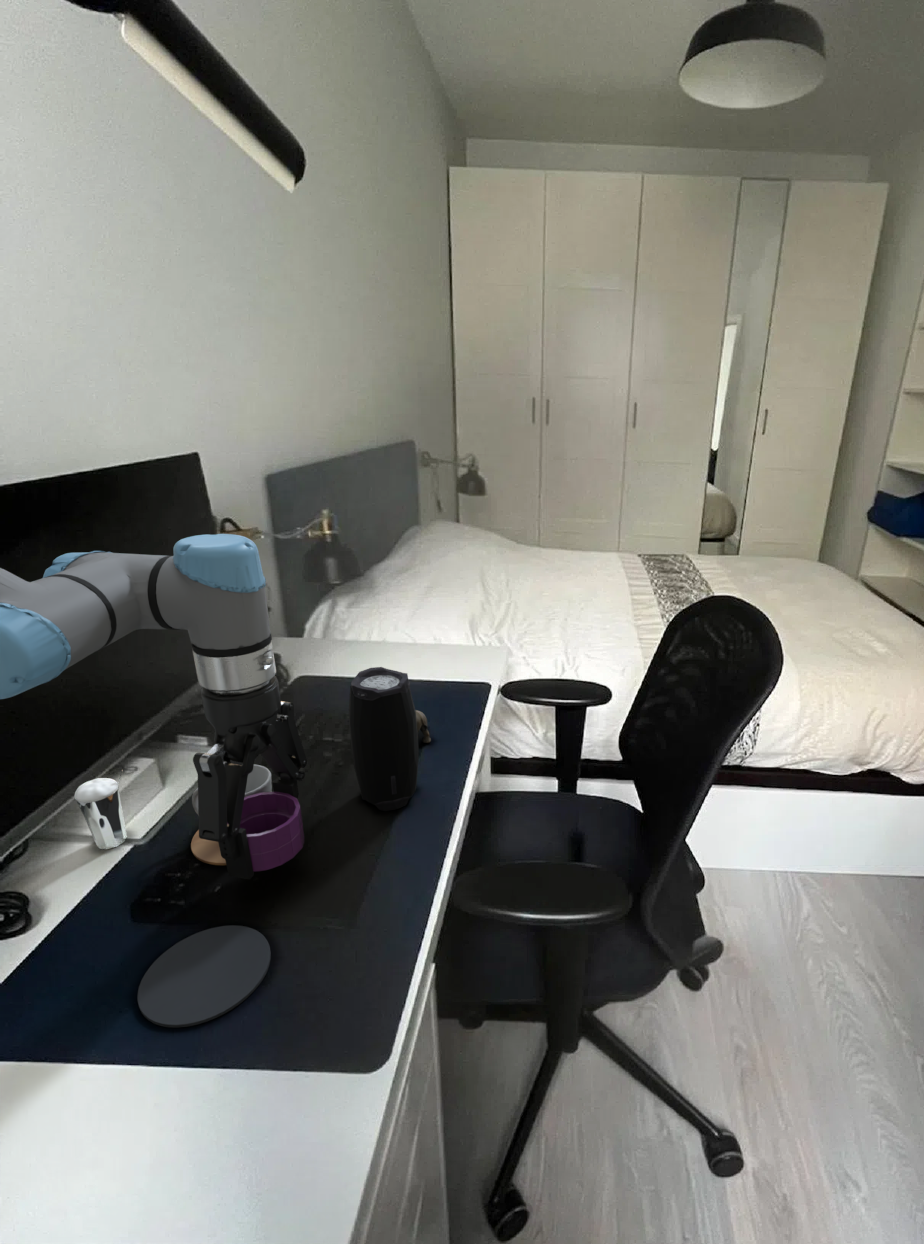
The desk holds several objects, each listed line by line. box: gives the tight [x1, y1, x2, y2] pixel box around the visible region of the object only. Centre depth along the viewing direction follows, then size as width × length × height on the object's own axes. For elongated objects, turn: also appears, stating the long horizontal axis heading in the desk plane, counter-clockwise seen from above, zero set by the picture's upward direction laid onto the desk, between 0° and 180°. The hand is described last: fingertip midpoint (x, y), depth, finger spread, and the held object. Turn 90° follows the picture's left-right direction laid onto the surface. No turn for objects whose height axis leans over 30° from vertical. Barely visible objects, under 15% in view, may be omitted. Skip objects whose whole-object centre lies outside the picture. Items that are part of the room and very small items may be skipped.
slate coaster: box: [136, 924, 272, 1029], centre depth 65 cm, size 12×12×1 cm
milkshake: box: [74, 769, 128, 850], centre depth 81 cm, size 4×5×10 cm
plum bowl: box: [227, 791, 306, 873], centre depth 75 cm, size 9×9×6 cm
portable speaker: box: [348, 666, 420, 812], centre depth 90 cm, size 9×9×20 cm
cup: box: [191, 764, 273, 817], centre depth 83 cm, size 8×10×8 cm
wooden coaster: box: [190, 829, 227, 866], centre depth 85 cm, size 12×12×1 cm
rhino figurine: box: [415, 709, 432, 744], centre depth 110 cm, size 4×14×6 cm, turn 63°
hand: (267, 848), depth 76 cm, fingers closed on plum bowl, 9 cm apart
